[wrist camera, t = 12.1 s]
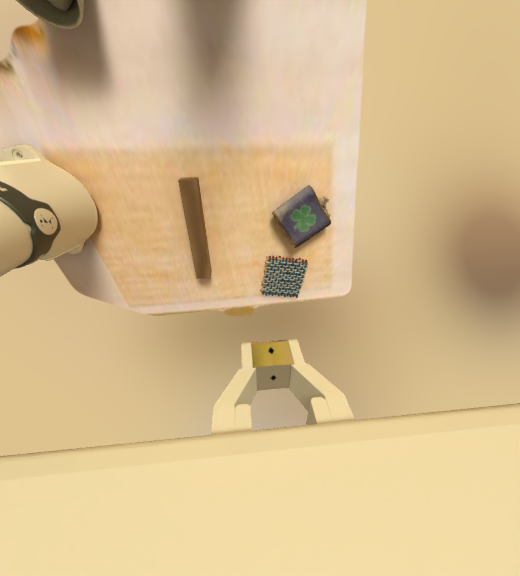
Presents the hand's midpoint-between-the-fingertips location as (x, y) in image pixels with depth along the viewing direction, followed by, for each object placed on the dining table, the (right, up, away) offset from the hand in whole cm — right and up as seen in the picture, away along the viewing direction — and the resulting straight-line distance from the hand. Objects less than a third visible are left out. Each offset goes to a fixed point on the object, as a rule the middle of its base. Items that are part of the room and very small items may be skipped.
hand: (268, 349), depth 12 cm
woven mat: (+5, +7, +44) cm, 45 cm away
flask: (+5, +17, +38) cm, 41 cm away
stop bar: (-14, +16, +35) cm, 41 cm away
